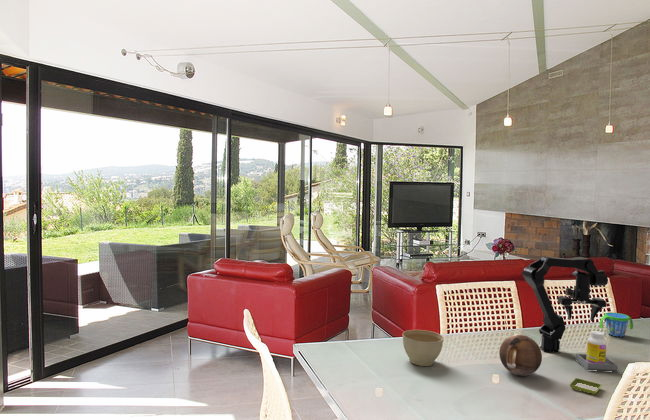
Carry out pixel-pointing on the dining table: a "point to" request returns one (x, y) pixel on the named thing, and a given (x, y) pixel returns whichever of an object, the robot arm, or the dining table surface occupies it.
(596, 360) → the supplement bottle
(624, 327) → the snack cup
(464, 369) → the dining table surface
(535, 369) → the wooden sphere
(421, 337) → the planter bowl
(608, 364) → the tray
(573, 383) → the green rectangular frame
